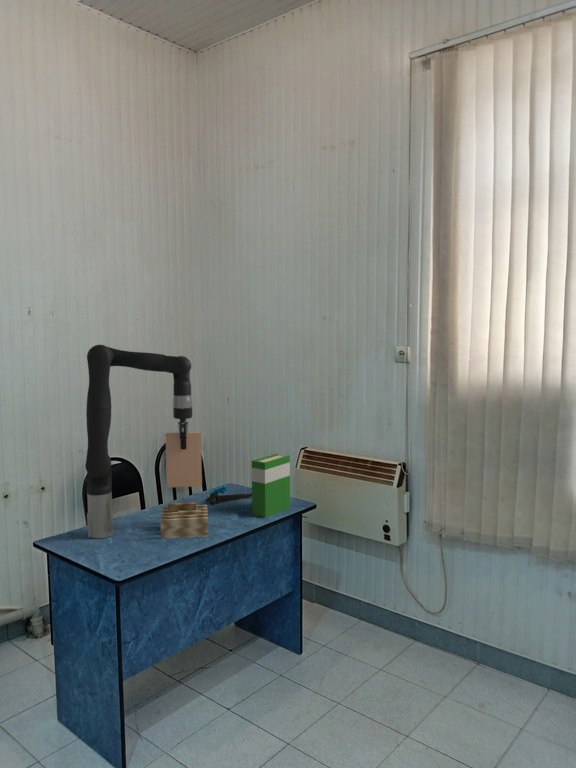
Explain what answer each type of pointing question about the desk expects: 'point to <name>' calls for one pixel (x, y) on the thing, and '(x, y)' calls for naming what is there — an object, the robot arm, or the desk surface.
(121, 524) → the desk surface
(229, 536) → the desk surface
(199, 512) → the offcut short
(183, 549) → the desk surface
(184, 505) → the offcut tall
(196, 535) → the rack
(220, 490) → the gear
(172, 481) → the tall sheet
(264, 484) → the hardback book
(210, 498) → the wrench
